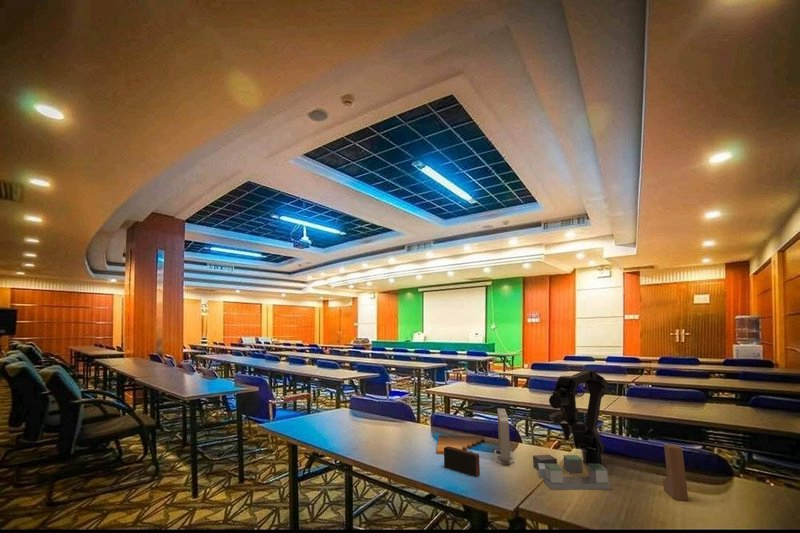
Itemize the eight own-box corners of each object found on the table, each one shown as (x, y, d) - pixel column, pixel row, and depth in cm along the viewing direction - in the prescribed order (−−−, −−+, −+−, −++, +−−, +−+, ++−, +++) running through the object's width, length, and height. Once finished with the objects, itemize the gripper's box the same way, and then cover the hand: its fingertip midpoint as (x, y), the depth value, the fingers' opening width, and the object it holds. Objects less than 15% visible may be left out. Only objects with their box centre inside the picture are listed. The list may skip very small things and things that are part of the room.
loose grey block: (550, 466, 171) (549, 454, 171) (557, 471, 165) (556, 458, 166) (533, 467, 169) (532, 455, 170) (540, 472, 163) (540, 460, 164)
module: (578, 469, 166) (576, 455, 167) (582, 473, 162) (581, 458, 163) (564, 469, 166) (563, 455, 167) (568, 473, 162) (567, 458, 163)
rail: (601, 481, 153) (599, 463, 154) (610, 489, 146) (609, 469, 147) (544, 482, 153) (543, 463, 154) (550, 489, 146) (549, 469, 147)
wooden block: (663, 489, 145) (658, 440, 148) (676, 491, 144) (671, 440, 147) (674, 500, 136) (668, 446, 139) (688, 501, 135) (682, 447, 138)
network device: (515, 466, 170) (513, 419, 173) (495, 465, 171) (493, 418, 175) (511, 449, 194) (509, 408, 198) (493, 448, 196) (491, 407, 199)
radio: (480, 475, 160) (479, 437, 162) (476, 477, 158) (475, 439, 160) (444, 464, 172) (444, 430, 175) (440, 466, 170) (440, 431, 173)
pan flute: (484, 442, 208) (438, 440, 211) (484, 435, 208) (438, 434, 212) (488, 457, 184) (437, 455, 187) (488, 450, 184) (436, 448, 187)
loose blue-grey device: (551, 474, 162) (550, 464, 162) (552, 480, 155) (551, 469, 156) (538, 472, 163) (538, 462, 164) (539, 478, 156) (539, 468, 157)
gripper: (543, 401, 178) (545, 437, 175) (559, 410, 159) (562, 450, 157) (566, 401, 178) (569, 437, 175) (586, 410, 159) (589, 450, 157)
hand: (571, 443), depth 166 cm, fingers open, 9 cm apart
